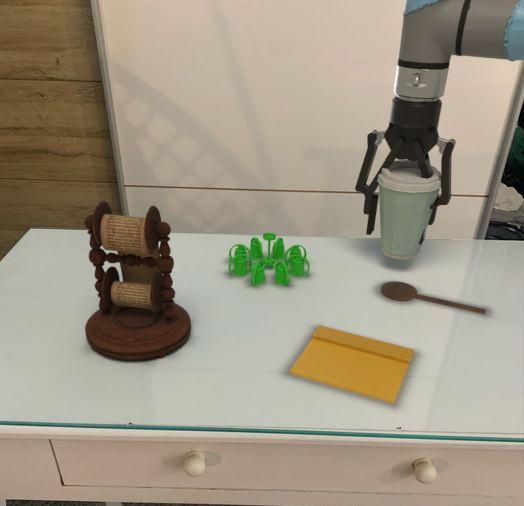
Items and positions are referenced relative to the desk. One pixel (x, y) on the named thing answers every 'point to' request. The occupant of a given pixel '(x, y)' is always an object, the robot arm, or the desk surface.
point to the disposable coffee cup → (405, 207)
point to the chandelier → (268, 260)
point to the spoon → (419, 296)
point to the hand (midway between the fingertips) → (395, 236)
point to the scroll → (133, 287)
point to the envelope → (354, 363)
